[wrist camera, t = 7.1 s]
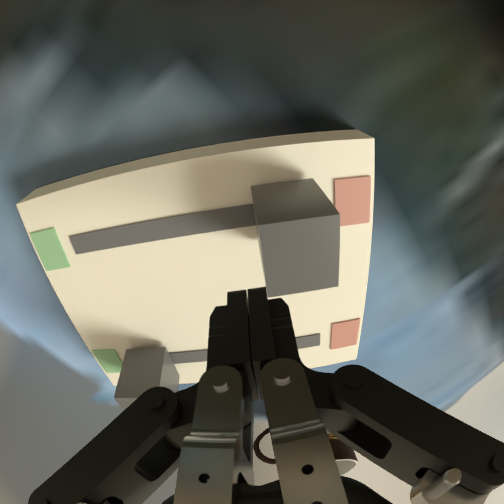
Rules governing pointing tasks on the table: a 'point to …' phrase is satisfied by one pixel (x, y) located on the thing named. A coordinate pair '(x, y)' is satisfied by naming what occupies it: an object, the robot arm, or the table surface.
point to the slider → (145, 374)
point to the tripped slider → (296, 236)
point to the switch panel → (198, 245)
